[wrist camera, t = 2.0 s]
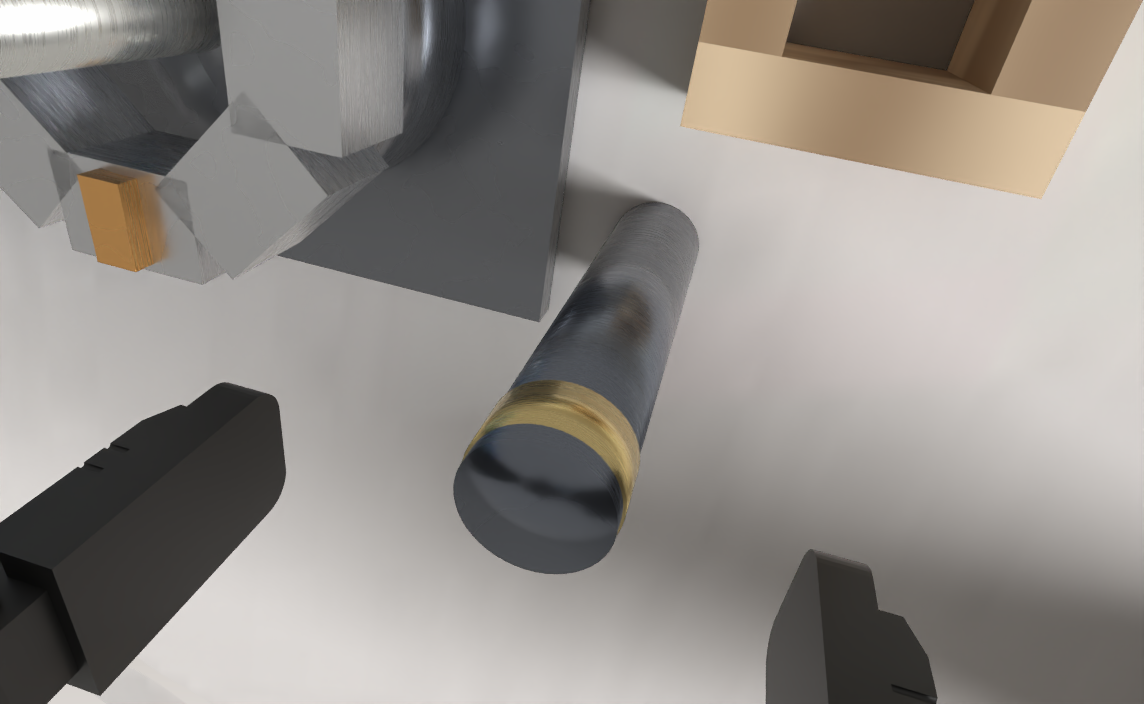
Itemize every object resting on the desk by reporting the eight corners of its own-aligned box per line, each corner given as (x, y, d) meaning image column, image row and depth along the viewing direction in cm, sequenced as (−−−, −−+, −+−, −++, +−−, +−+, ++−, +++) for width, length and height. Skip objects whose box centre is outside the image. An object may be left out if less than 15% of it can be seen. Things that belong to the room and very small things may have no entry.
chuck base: (640, -363, 14) (410, -937, 5) (548, 309, 22) (397, 527, 13) (7, -420, 17) (-875, -878, 8) (133, 205, 25) (-227, 331, 16)
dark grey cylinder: (710, 211, 19) (636, 467, 9) (689, 295, 21) (604, 596, 11) (619, 192, 20) (454, 415, 10) (604, 275, 21) (446, 546, 11)
